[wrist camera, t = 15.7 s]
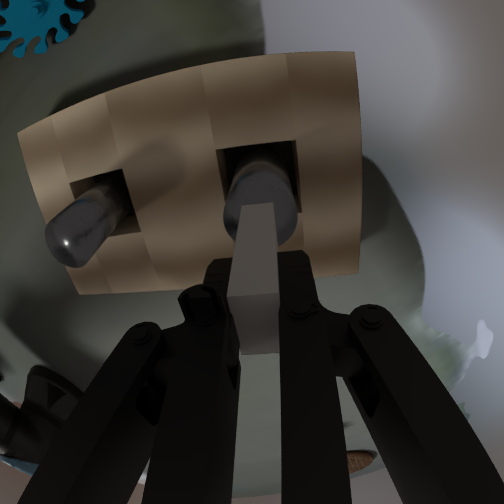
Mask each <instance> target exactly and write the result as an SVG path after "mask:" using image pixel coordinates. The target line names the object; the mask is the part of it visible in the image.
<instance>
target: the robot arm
mask: <svg viewBox="0 0 504 504" xmlns="http://www.w3.org/2000/svg"><path fill="white" fill-rule="evenodd" d="M178 302H179V304H180V307H181V310H182V312H183V315H184V317H185V321H184V323H182V324H180V325H177V326H174V327H171V328H167V329H164V330H161V328H160V327H159V326H158V325H157V324H156V323H153V322H142V323H138V324H136V325H134V326H133V327H131V328H130V329H129V330H128V331H127V332H126V333H125V335H124V336H123V337H122V339H121V340H120V342H119V343H118V344H117V346H116V347H115V349H114V350H113V351H112V353H111V354H110V356H109V357H108V358H107V360H106V361H105V363H104V364H103V366H102V367H101V369H100V370H99V371H98V373H97V374H96V376H95V377H94V379H93V380H92V382H91V383H90V385H89V386H88V388H87V389H86V391H85V392H84V394H82V393H81V392H80V391H79V390H78V389H77V388H76V387H75V386H74V385H72V384H71V383H70V382H68V381H67V380H65V379H64V378H62V377H61V376H59V375H57V374H55V373H53V372H51V371H49V370H47V369H44V368H41V367H32V368H31V370H30V372H29V373H28V376H27V384H26V389H25V396H24V401H23V403H22V406H21V408H20V409H19V408H18V407H16V406H15V405H14V404H13V403H12V402H10V401H9V400H8V399H7V398H5V397H4V396H3V395H2V394H1V393H0V453H1V454H0V460H1V461H2V462H4V463H6V464H8V465H10V466H12V467H14V468H16V469H18V470H20V471H22V472H24V473H26V474H28V475H31V476H32V478H31V479H30V481H29V483H28V485H27V486H26V488H25V490H24V492H23V494H22V496H21V497H20V499H19V501H18V503H17V504H127V503H128V501H129V499H130V497H131V495H132V493H133V491H134V489H135V487H136V485H137V483H138V481H139V479H140V477H141V475H142V473H143V471H144V469H145V467H146V465H147V463H148V461H149V459H150V463H149V467H148V472H147V477H146V482H145V488H144V492H143V498H142V503H141V504H231V499H232V485H233V471H234V457H235V443H236V429H237V415H238V401H239V388H240V374H241V365H240V361H239V347H240V351H241V355H251V354H268V353H280V389H281V463H282V492H281V494H282V495H281V500H282V501H281V502H282V503H281V504H352V498H351V488H350V478H349V468H348V460H347V451H346V443H345V436H344V428H343V421H342V414H341V407H340V401H339V394H338V388H337V382H336V376H339V377H343V380H344V382H345V384H346V386H347V388H348V390H349V392H350V394H351V396H352V398H353V400H354V402H355V404H356V406H357V408H358V410H359V412H360V414H361V416H362V418H363V420H364V422H365V424H366V426H367V428H368V430H369V432H370V435H371V437H372V439H373V441H374V443H375V445H376V447H377V449H378V451H379V453H380V455H381V457H382V460H383V462H384V464H385V466H386V468H387V470H388V472H389V474H390V476H391V479H392V481H393V483H394V485H395V487H396V489H397V491H398V494H399V496H400V498H401V500H402V502H403V504H504V483H503V481H502V479H501V477H500V475H499V474H498V472H497V470H496V468H495V466H494V464H493V463H492V461H491V459H490V457H489V456H488V454H487V452H486V450H485V449H484V447H483V445H482V444H481V442H480V440H479V439H478V437H477V435H476V434H475V432H474V431H473V429H472V427H471V426H470V424H469V423H468V421H467V419H466V418H465V416H464V415H463V413H462V412H461V410H460V409H459V407H458V406H457V404H456V403H455V401H454V400H453V398H452V397H451V395H450V394H449V392H448V391H447V389H446V388H445V386H444V385H443V383H442V382H441V381H440V379H439V378H438V376H437V375H436V373H435V372H434V371H433V369H432V368H431V366H430V365H429V364H428V362H427V361H426V359H425V358H424V357H423V355H422V354H421V353H420V351H419V350H418V348H417V347H416V346H415V344H414V343H413V342H412V340H411V339H410V338H409V336H408V335H407V334H406V332H405V331H404V330H403V328H402V327H401V326H400V325H399V323H398V322H397V321H396V319H395V318H394V317H393V316H392V314H391V313H390V312H389V311H388V310H386V309H385V308H383V307H381V306H379V305H373V304H367V305H361V306H359V307H357V308H355V309H354V310H353V311H352V312H351V314H350V315H348V314H340V313H335V312H332V311H330V310H327V309H326V308H324V307H323V306H322V305H321V303H320V302H319V300H318V296H317V291H316V286H315V281H314V277H313V273H312V268H311V263H310V259H309V256H308V255H307V254H306V253H305V252H304V251H303V250H294V251H283V252H279V251H278V242H277V233H276V224H275V215H274V206H273V202H271V203H261V204H252V205H243V206H242V207H241V212H240V218H239V224H238V230H237V236H236V242H235V248H234V254H233V257H230V258H220V259H214V260H213V261H212V262H211V263H210V264H209V265H208V266H207V269H206V273H205V277H204V280H203V284H198V285H194V286H191V287H189V288H187V289H186V290H184V291H183V292H182V293H181V294H180V296H179V297H178ZM150 456H151V458H150Z"/></svg>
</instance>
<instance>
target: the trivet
mask: <svg viewBox="0 0 504 504" xmlns="http://www.w3.org/2000/svg"><path fill="white" fill-rule="evenodd" d="M347 460H348V468H349V474H350V473H353V472H356V471H358V470H361V469H363V468H365V467H367V466H368V465H370V464H371V463H372V461H373V456H372V454H371V453H369V452H366V451H347Z"/></svg>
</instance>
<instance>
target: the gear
mask: <svg viewBox="0 0 504 504" xmlns="http://www.w3.org/2000/svg"><path fill="white" fill-rule="evenodd" d="M77 1H78V2H82V1H85V0H77ZM64 13H68V14H69V15H70V21H71V22H72V23H74V24H76V23H78V22H79V21H80V19H81V18H82V17H83V15H84V11H83V10H81V9H73V8H71V7H69V6H68V5H67V4H66V3H65V0H9V7H8V8H3V7H2V4H1V1H0V15H1V16H3V17H4V18H5V19H6V23H5V24H3V25H1V24H0V31H11V32H12V36H11V37H2V38H0V52H2V51H4V50H5V48H6V47H7V45H8V44H9V43H10V42H12V41H13V40H15V39H17V38H20V37H23V38H24V39H25V42H24V43H21V44H19V45H18V46H16V48H15V50H14V51H13V55H14V56H16V57H19V58H22V57H23V56H24V54H25V52H26V48H27V44H28V43H29V42H30V40H31V39H32V38H33V37H35V36H40V37H41V41H40V42H39V43H38V44H37V45H36V47H35V53H36V54H41V53H45V52H46V51H47V48H48V43H47V40H46V35H47V32H48V30H49V29H50V28H52V27H55V28H57V30H58V31H57V34H56V37H55V40H56V42H61V41H63V40H65V39H66V38H68V36H69V31H68V29H66V28H65V27H63V25H62V24H61V20H60V16H61V15H62V14H64Z"/></svg>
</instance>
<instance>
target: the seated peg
mask: <svg viewBox="0 0 504 504" xmlns="http://www.w3.org/2000/svg"><path fill="white" fill-rule="evenodd" d="M133 208H134V207H133V204H132V201H131V197H130V194H129V190H128V187H127V184H126V180H125V176H124V173H123V169H119V170H115V171H113V172H111V173H110V174H109V175H107V176H106V177H105V178H103V179H102V180H100V181H99V182H98V183H96V184H95V185H94V186H92V187H91V188H90V189H88V190H87V191H86V192H84V193H83V194H82V195H81V196H79V197H78V198H77V199H76V200H74V201H73V202H72V203H71V204H69V205H68V206H67V207H66V208H64V209H63V210H62V211H61V212H60V213H58V214H57V215H56V216H55V217H54V218H53V219H51V220H50V221H49V222H48V224H47V226H46V229H45V238H46V243H47V245H48V248H49V250H50V251H51V253H52V254H53V256H54V257H55V258H56V259H57V260H58V261H59V262H61V263H62V264H64V265H66V266H68V267H71V268H80V267H83V266H85V265H86V264H87V263H88V261H89V260H90V259H91V257H92V256H93V255H94V254H95V252H96V251H97V250H98V249H99V247H100V246H101V245H102V244H103V243H104V241H105V240H106V239H107V238H108V236H109V235H110V234H111V233H112V232H113V231H114V229H115V228H116V227H117V226H118V225H119V224H120V222H121V221H122V220H123V219H124V218H125V217H126V216H127V214H128V213H129V212H130V211H131V210H132V209H133Z"/></svg>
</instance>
